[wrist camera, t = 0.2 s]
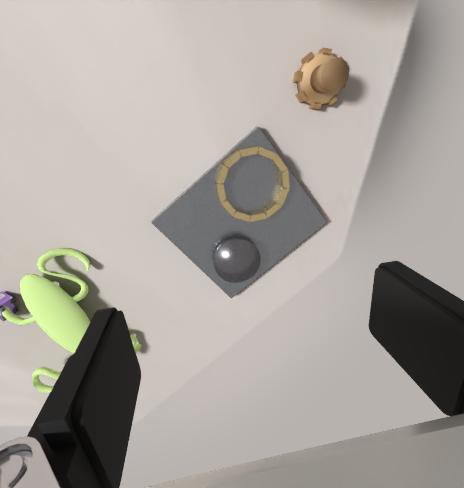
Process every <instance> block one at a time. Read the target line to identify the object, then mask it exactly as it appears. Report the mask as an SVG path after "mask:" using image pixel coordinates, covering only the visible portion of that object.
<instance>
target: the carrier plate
mask: <svg viewBox="0 0 464 488" xmlns="http://www.w3.org/2000/svg"><path fill="white" fill-rule="evenodd" d="M325 223H326V220H325V219H324V218H323V216H322V215H321V213H320V212H319V211H318V209H317V208H316V206H315V205H314V204H313V202H312V201H311V199H310V198H309V197H308V195H307V194H306V192H305V191H304V190H303V188H302V187H301V185H300V184H299V183H298V181H297V180H296V178H295V177H294V176H293V174H292V173H291V171H290V170H289V169H288V167H287V166H286V164H285V163H284V161H283V160H282V159H281V157H280V156H279V154H278V153H277V152H276V150H275V149H274V147H273V146H272V145H271V143H270V142H269V140H268V139H267V138H266V136H265V135H264V133H263V132H262V131H261V129H260V128H259V127H256V128H255V129H253V130H252V131H251V132H250V133H249V134H248V135H247V136H246V137H245V138H243V139H242V140H241V141H240V142H239V143H238V144H237V145H236V146H234V147H233V148H232V149H231V150H230V151H229V152H228V153H227V154H226V155H224V156H223V157H222V158H221V159H220V160H219V161H218V162H217V163H216V164H214V165H213V166H212V167H211V168H210V169H209V170H208V171H207V172H206V173H204V174H203V175H202V176H201V177H200V178H199V179H198V180H197V181H196V182H194V183H193V184H192V185H191V186H190V187H189V188H188V189H187V190H185V191H184V192H183V193H182V194H181V195H180V196H179V197H178V198H177V199H175V200H174V201H173V202H172V203H171V204H170V205H169V206H168V207H167V208H165V209H164V210H163V211H162V212H161V213H160V214H159V215H158V216H157V217H155V218H154V219H153V220H152V224H153V225H154V226H156V227H157V228H158V229H159V230H160V231H161V232H162V233H163V234H164V235H165V236H166V237H167V238H168V239H169V240H170V241H171V242H172V243H173V244H174V245H176V246H177V247H178V248H179V249H180V250H181V251H182V252H183V253H184V254H185V255H186V256H187V257H188V258H189V259H190V260H191V261H192V262H193V263H195V264H196V265H197V266H198V267H199V268H200V269H201V270H202V271H203V272H204V273H205V274H206V275H207V276H208V277H209V278H210V279H211V280H212V281H213V282H215V283H216V284H217V285H218V286H219V287H220V288H221V289H222V290H223V291H224V292H225V293H226V294H227V295H228V296H229V297H230V298H233V297H234V296H235V295H236V294H238V293H239V292H240V291H241V290H243V289H244V288H245V287H246V286H248V285H249V284H250V283H251V282H253V281H254V280H255V279H256V278H258V277H259V276H260V275H261V274H263V273H264V272H265V271H266V270H268V269H269V268H270V267H271V266H273V265H274V264H275V263H276V262H278V261H279V260H280V259H281V258H283V257H284V256H285V255H286V254H288V253H289V252H290V251H291V250H293V249H294V248H295V247H296V246H298V245H299V244H300V243H301V242H303V241H304V240H305V239H306V238H308V237H309V236H310V235H311V234H313V233H314V232H315V231H316V230H318V229H319V228H320V227H321V226H323V225H324V224H325Z"/></svg>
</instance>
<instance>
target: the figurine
mask: <svg viewBox="0 0 464 488" xmlns="http://www.w3.org/2000/svg"><path fill="white" fill-rule="evenodd" d="M61 255H69V256H74V257H76V258H78V259H80V260H81V261H82V262H83V263H84V264H85V266H86V272H87V271H88V269H89V268H90V261H89V259H88V258H87V257H86V256H85V255H84V254H82V253H81V252H79V251H76V250H74V249H69V248H59V249H54V250H51V251H49V252H47V253H45V254H44V255H42V256H41V257H40V258H39V260H38V263H37V265H38V267H39V270H40V271H42V272H44V273H46V274H49V275H53V276H58V277H62V278H66V279H69V280H72V281H75V282H77V283H78V284H79V285H81V291H80V292H79V294H77V295H75V296H73V297H71V296H69V295H68V294H67V293H66V292H65V291H64V290H63V289H61V288H60V284H59V283H58V282H51V281H49V280H48V279H46V278H44V277H41V276H37V275H34V274H31V275H25V276H24V277H23V278H22V280H21V281H20V290H21V295H22V298H23V300H24V302H25V305H26V307H27V309H28V310H29V312H30V313H31V315H32V317H30V318H26V319H24V318H21V317H18V316H15V315H14V313H15V312H17V311H18V309H17V308H16V307H15V306H14V303H15V302H16V300H15V299H14V298H13V297H11V296H10V295H8V294H6V293H4V292H3V291H2V292H1V293H0V319H1V320H2V321H5V320H6V319H7V320H9V321H11V322H13V323H16V324H18V325H27V324H30V323H33V322H35V321H36V322H37V323H38V324H39V325H40V327H41V328H42V329H43V330H44V331H45V332H46V333H47V334H48V335H49V336H50V337H51V338H52V339H53V340H55V341H56V342H57V343H58V344H60V345H61V346H62V347H63V348H65V349H67V350H69V351H71V352H72V353H75V351H76V349H77V347H78V345H79V343H80V341H81V339H82V337H83V336H84V334H85V332H86V330H87V328H88V326H89V324H90V320H89V319H88V317H87V315H86V314H85V312H84V311H83V310H82V309H81V308H80V306H79V305H78V304H77V303H76V302H78V301H80V300H81V299H83V298H84V297H85V296H86V295H87V293H88V285H87V284H86V283H85V282H84V281H83V280H81V279H79V278H77V277H74V276H70V275H65V274H55V273H50V272H48V271H47V270H46V269H45V264H46V262H47V261H48V260H50V259H51V258H53V257H55V256H61ZM130 337H131V340H132V343H133V346H134V350H135V353H137V352H138V351H139V349H140V348H141V346H142V344H136V342H137V340H136V338H135V336H133V335H130ZM135 344H136V345H135ZM41 374H44V375H47V376H50V377H52V378H55V379H58V377H59V376H60V374H61V372H57V371H54V370H52V369H49V368H46V367H41V368H38V369H37V370H36V371H35V372H34V373H33V376H32V382H33V384H34V386H35V388H36V389H38V390H39V391H40V392H51V391H52V389H53V387H54V386H48V385H45V384H43V383H42V382H41V381H40V380H39V377H38V376H39V375H41Z"/></svg>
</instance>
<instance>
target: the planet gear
mask: <svg viewBox="0 0 464 488" xmlns="http://www.w3.org/2000/svg"><path fill="white" fill-rule="evenodd" d="M331 51H332V49H329V48H323V49H321V50H319V54H317V55H315V56H314V55H313V53H312V52H311V53H309V54H308V55H306V56H305V57H304V58H303V59H302V60H301V62H302V63H303V65H302V67H301V69H300V71H297V72H295V73H294V79H293V83H297V88H298V92H299V93H298V94H297V95H295V96H296V97H297V99H298V100H299V102H303V101H305V102H306V103H308V104H310V106H309V109H321V104H325V103H326V105H327V106H329V105H332V104H333V103H335V102H336V101H337V100H338V98H337V96H336V95H337V94H338V92H339V91H340V89H341V88H345V85H346V81H347V79H348V76H349V68H348V65H347V63H346V61H345V60H343V58H342V57H339V58H336V57H335V56H333V55H332V54H331Z"/></svg>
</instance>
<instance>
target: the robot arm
mask: <svg viewBox="0 0 464 488" xmlns="http://www.w3.org/2000/svg"><path fill="white" fill-rule="evenodd" d="M369 329H370V332H371V334H372V335H373V336H374V337H375V339H376V340H377V341H378V342H379V343H380V344H381V345H382V346H383V347H384V348H385V349H386V351H387V352H388V353H389V354H390V355H391V356H392V357H393V358H394V359H395V360H396V362H397V363H398V364H399V365H400V366H401V367H402V368H403V369H404V370H405V371H406V372H407V374H408V375H409V376H410V377H411V378H412V379H413V380H414V381H415V382H416V383H417V385H418V386H419V387H420V388H421V389H422V390H423V391H424V392H425V393H426V394H427V396H428V397H429V398H430V399H431V400H432V401H433V402H434V403H435V404H436V405H437V407H438V408H439V409H440V410H441V411H442V412H443V413H444V414H446V415H449V416H450V417H446V418H441V419H437V420H433V421H428V422H424V423H419V424H414V425H410V426H406V427H401V428H396V429H392V430H388V431H383V432H379V433H375V434H370V435H366V436H361V437H357V438H352V439H348V440H344V441H339V442H335V443H331V444H327V445H322V446H317V447H313V448H309V449H304V450H300V451H296V452H291V453H287V454H283V455H279V456H274V457H270V458H266V459H261V460H257V461H253V462H249V463H245V464H240V465H236V466H232V467H227V468H223V469H219V470H215V471H210V472H206V473H202V474H197V475H194V476H189V477H185V478H181V479H177V480H173V481H169V482H165V483H161V484H157V485H153V486H150V487H146V488H464V301H463V300H461V299H460V298H458V297H456V296H455V295H453V294H451V293H450V292H448V291H446V290H445V289H443V288H442V287H440V286H438V285H437V284H435V283H433V282H432V281H430V280H428V279H427V278H425V277H424V276H422V275H420V274H419V273H417V272H415V271H414V270H412V269H410V268H409V267H407V266H405V265H404V264H402V263H400V262H398V261H392V262H386V263H381V264H380V265H379V267H378V268H377V269H376V270H375V276H374V284H373V293H372V301H371V310H370V319H369ZM140 380H141V370H140V366H139V363H138V359H137V356H136V353H135V350H134V346H133V343H132V340H131V337H130V333H129V330H128V327H127V324H126V320H125V317H124V314H123V312H122V311H117V309H116V308H108V309H102V310H97V311H96V313H95V314H94V316H93V318H92V320H91V322H90V324H89V326H88V328H87V330H86V332H85V334H84V336H83V337H82V339H81V341H80V343H79V345H78V347H77V349H76V351H75V353H74V354H73V355H72V356H70V358H69V359H68V361H67V363H66V364H65V366H64V368H63V370H62V372H61V374H60V376H59V377H58V379H57V381H56V383H55V385H54V387H53V389H52V391H51V392H50V394H49V396H48V398H47V400H46V402H45V404H44V406H43V407H42V409H41V411H40V413H39V415H38V417H37V419H36V420H35V422H34V424H33V426H32V428H31V430H30V432H29V434H28V436H27V437H20V438H16V439H13V440H11V441H8V442H6V443H4V444H3V445H1V446H0V488H119V486H120V482H121V477H122V471H123V467H124V462H125V456H126V451H127V446H128V441H129V436H130V431H131V426H132V421H133V416H134V411H135V406H136V401H137V395H138V390H139V385H140Z"/></svg>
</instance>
